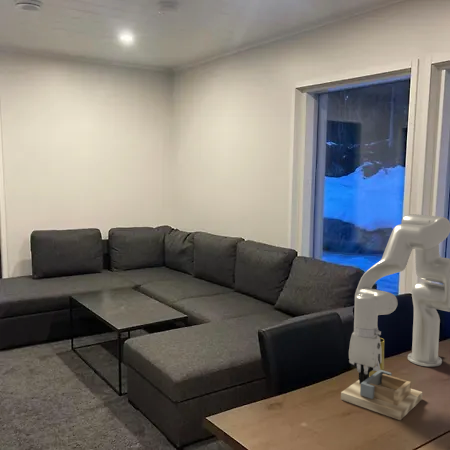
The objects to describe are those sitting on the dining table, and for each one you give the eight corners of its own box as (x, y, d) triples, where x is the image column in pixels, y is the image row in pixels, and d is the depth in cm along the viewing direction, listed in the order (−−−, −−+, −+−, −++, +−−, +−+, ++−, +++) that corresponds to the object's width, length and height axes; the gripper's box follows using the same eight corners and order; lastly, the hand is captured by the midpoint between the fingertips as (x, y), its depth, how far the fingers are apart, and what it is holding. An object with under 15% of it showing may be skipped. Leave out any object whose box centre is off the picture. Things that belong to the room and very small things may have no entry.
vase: (386, 380, 174) (387, 342, 173) (369, 380, 174) (370, 342, 173) (381, 373, 180) (382, 336, 179) (364, 373, 180) (366, 336, 179)
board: (365, 381, 174) (366, 364, 173) (422, 399, 160) (422, 380, 160) (340, 399, 160) (341, 380, 160) (400, 420, 147) (401, 400, 146)
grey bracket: (379, 380, 168) (379, 369, 168) (391, 384, 165) (391, 372, 165) (360, 395, 157) (360, 383, 157) (372, 399, 155) (372, 387, 154)
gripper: (391, 333, 160) (389, 386, 162) (350, 323, 170) (349, 373, 172) (381, 339, 154) (379, 394, 156) (339, 328, 164) (338, 380, 166)
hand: (363, 383), depth 164 cm, fingers closed
